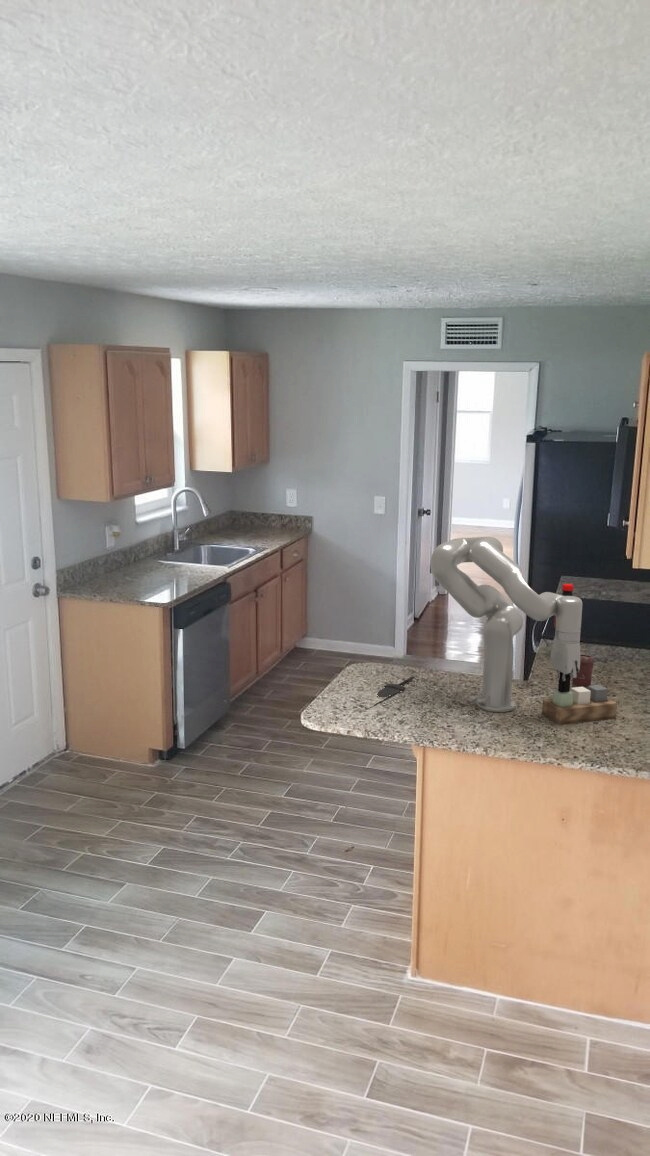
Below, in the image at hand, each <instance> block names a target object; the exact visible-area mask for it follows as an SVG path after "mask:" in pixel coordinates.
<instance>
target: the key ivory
mask: <svg viewBox="0 0 650 1156" xmlns="http://www.w3.org/2000/svg"><path fill="white" fill-rule="evenodd" d="M570 691H571V692H572V693H573V703H575V704H577V705H581V704H590V694H591V691H590V690H588V689H586V688H584V687H574V688H572V687H570Z"/></svg>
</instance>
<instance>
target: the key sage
mask: <svg viewBox="0 0 650 1156" xmlns="http://www.w3.org/2000/svg"><path fill="white" fill-rule="evenodd" d="M552 698H553V703H554V704H556V705H557V706H559V707H565V706H572V703H573V693H572V692H571V690H570V691H569V692H563V693H561V692H559V691H558V688H556V689H553V691H552Z"/></svg>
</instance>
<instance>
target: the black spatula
mask: <svg viewBox="0 0 650 1156" xmlns="http://www.w3.org/2000/svg"><path fill="white" fill-rule="evenodd" d="M415 678H416V677H415V676H414V675H412V676H410V677H409V678H407V679H405V680H403V681H402V682H400V683H387V684H385V685H383V688H382V690H381V689H380V690H378V691H379V692H378V691H377V692H378V694H377V695H378V696H379V697H387V696H389V695H392V696H394V695H395V693H396V694H398V693H400V692H399V691H403V690H405V689H406V690H407V687H406V686H403V685H405V684H407V683H408V682H410V681H412V680H413V679H415ZM401 685H402V686H401ZM384 687H385V688H384ZM406 690H405V691H406ZM403 692H404V691H403ZM393 694H394V695H393ZM378 696H377V697H378Z"/></svg>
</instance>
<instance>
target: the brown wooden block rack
mask: <svg viewBox="0 0 650 1156" xmlns="http://www.w3.org/2000/svg"><path fill="white" fill-rule="evenodd" d="M617 707H618V702H616V701H614V700H612V699H610V698H608V697H607V701H606V702H598V703H594V702H593V701H591V700H590V704H581V705H577V704H575V703H572V706H565V707H559V706H557V705H556V704H554V703H553V697H552V698H551V697H550V698H542V705H541V715H543V716H544V717H546V718H547V719H549V720H550V721H552V722H554V723H555V724H557V725H559V726H564V725H571V724H580V723H587V722H595V721H601V720H611V719H616V718H617V711H618V708H617Z"/></svg>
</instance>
